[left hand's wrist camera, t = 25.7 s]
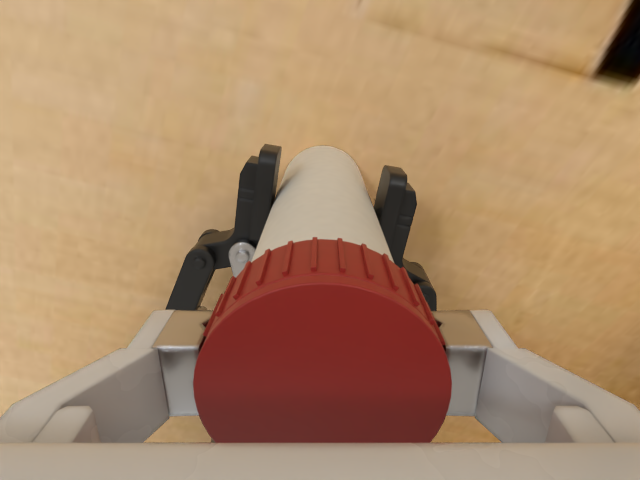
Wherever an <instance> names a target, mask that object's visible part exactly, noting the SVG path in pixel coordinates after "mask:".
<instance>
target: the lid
mask: <svg viewBox="0 0 640 480" xmlns="http://www.w3.org/2000/svg"><path fill="white" fill-rule="evenodd" d="M203 336H206V339H205V341H204V344H203V346H202V348H201V350H200V353H199V355H198V358H197V362H196V365H195V369H194V378H193V390H194V399H195V403H196V408H197V411H198V414H199V416H200V419H201V421H202V423H203V425H204V427H205V429H206V430H207V432H208V434H209V435H210V436H211V438H212V439H213V440H214V441H215V443H430V442H431V441H432V439H433V438H434V437H435V436H436V434H437V433H438V431H439V429H440V427H441V426H442V424H443V422H444V419H445V417H446V414H447V412H448V409H449V404H450V399H451V391H452V378H451V370H450V366H449V362H448V359H447V355H446V353H445V351H444V348H443V346H442V345H445V344H446V343H445V341H444V338H443V336H442V334H441V332H440V330H439V327H438V325H437V323H436V321H435V319H434V316H433V314H432V312H431V310H430V308H429V305H428V303H427V302H426V300H425V298H424V296H423V294H422V291H421V289H420V287H419V285H418V284H415V285H414V284H413V282H412V281H411V279H410V278H409V276H408V274H407V271H406V269H405V268H404V267H402V268H399V267H398V266H397V265H396V264H394V263H393V262H392V261H391V260H389V257H388V255H387V254H385V253H384V254H383V255H381V254H380V253H378V252H376V251H373V250H371V249H369V248H367V246H366V244H363V243H362V244H361V245H358V244H354V243H351V242H346V241H343V240H342V238H338V239H337V240H329V239H317V237H313V238H312V240H304V241H299V242H294V243H293V241H288V244H287V245H284V246H281V247H278V248H275V249H273V250H270V249H267V250H265V253H264V254H263V255H262V256H260V257H259V258H257V259H256V260H254V261H252V262H250V261H248V262H247V263H246V264H245V267H244V269H243V270H242V271H241V272H240V273H239V275H238V276H237V277H236V278H235V277H234V276H233V277H232V278H231V279H230V282H229V284H228V286H227V288H226V291H225V293H224V294H221V296H220V298H219V300H218V302H217V304H216V307H215V309H214V311H213V313H212V315H211V318H210V320H209V322H208V324H207V326H206V328H205V331H204V333H203Z"/></svg>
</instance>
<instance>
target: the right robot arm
mask: <svg viewBox="0 0 640 480" xmlns="http://www.w3.org/2000/svg"><path fill="white" fill-rule="evenodd" d="M280 157H281V147H280V146H274V145H268V144H265V145H264V146H263V147H262V148H261V150H260V154H259V157H256V156H251V157H250V159H249V160H248V161H247V162H246V164H245V166H244V168H243V169H242V171H241V173H240V179H239V189H238V199H237V209H236V219H235V228H233V229H231V230H228V231H222V232H220V231H218V230H214V229H210V230H207V231H205V232H204V233H203V234H202V235H201V237H200V238H199V240H198V242H197V244H196V245H195V247H193V248H192V249H191V250H190V251H189V253H188V254H187V256H186V258H185V260H184V263H183V266H182V268H181V271H180V273H179V276H178V278H177V281H176V284H175V286H174V289H173V291H172V294H171V296H170V299H169V302H168V304H167V307H166V309H165V310H207V309H206V308H205V307H204V306H200V304H201V302H202V300H203V297H204V295H205V293H206V290H207V288H208V286H209V283H210V281H211V278H212V276H213V274H214V271H215V269H220V268H226V267H231V268H232V272H233V276H234V277H235V278H236V277H237V276H238V275H239V273H240V272H241V271H242V270H243V269H244V267H245V264H246V263H247V262H248V261H250V262H251V261H252V259H253V256H254V253H255V251H256V248H257V245H258V243H259V240H260V237H261V235H262V232H263V229H264V227H265V224H266V221H267V219H268V216H269V213H270V211H271V208H272V205H273V203H274V200H275V194H276V186H277V179H278V172H279V164H280ZM416 205H417V202H416V194H415V191H414V190H413V188H412V187H411V186H410V184H409V183H407V175H406V174H405V172H404V171H403V170H402V169H401V168H398V167H392V166H387V165H385V166H384V167H383V170H382V174H381V178H380V182H379V187H378V191H377V195H376V200H375V204H374V210H375V213H376V216H377V218H378V221H379V224H380V227H381V229H382V232H383V235H384V237H385V240H386V243H387V245H388V248H389V251H390V253H391V256H392V259H393V261H394V264H396V265H397V266H398V267H399V268H402V267H404V268H405V269H406V271H407V274H408V276H409V278H410V279H411V281H412V282H413V284H414V285H415V284H418V285H419V287H420V289H421V291H422V294H423V296H424V298H425V300H426V302H427V303H428V305H429V308H430V310H431V311H436V293H435V291H434V289H433V287H432V285H431V283H430V281H429V279H428V277H427V275H426V273H425V271H424V269H423V267H422V266H421V265H420V264H418V263H415V262H409V261H407V260H405V259H403V253H404V250H405V246H406V242H407V239H408V235H409V231H410V226H411V224H412V220H413V216H414V213H415V209H416ZM211 443H215V441H214V440H213V439H212V438H211Z"/></svg>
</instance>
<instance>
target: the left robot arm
mask: <svg viewBox="0 0 640 480" xmlns="http://www.w3.org/2000/svg"><path fill="white" fill-rule="evenodd" d="M431 312H432V314H433V316H434V319H435V321H436V323H437V325H438V327H439V330H440V332H441V334H442V336H443V338H444V341H445V343H446V344H445V345H442V346H443V348H444V351H445V353H446V355H447V359H448V362H449V366H450V370H451V378H452V391H451V399H450V404H449V409H448V412H447V414H446V415H450V416H475V418H476V419H477V420H478V421H479V422H480V423H481V424H482V425H483V426H484V427H486V428H487V429H488V430H489V431H490V432H491V433H492V434H493V435H494V436H495V437H497V438H498V439H499V440H500V441H501V442H502V443H143V442H144V441H145V440H146V439H147V438H148V437H149V436H150V435H152V434H153V433H154V432H155V431H156V430H157V429H158V428H159V427H160V426H161V425H162V424H164V423H165V422H166V421H167V420H168V419H169V416H194V415H199V414H198V411H197V408H196V403H195V399H194V390H193V378H194V369H195V365H196V362H197V358H198V355H199V353H200V350H201V348H202V346H203V344H204V341H205V339H206V336H203V333H204V331H205V328H206V326H207V324H208V322H209V320H210V318H211V315H212V313H213V311H208V310H155V311H153V312H152V313H151V314H150V316H149V317H148V319H147V320H146V321H145V323H144V324H143V326H142V327H141V329H140V330H139V331H138V333H137V334H136V336H135V337H134V338H133V340H132V341H131V343H130V344H129V345H128V347H127V348H120V349H118V350H116V351H114V352H112V353H110V354H108V355H106V356H104V357H102V358H100V359H99V360H97V361H95V362H93V363H91V364H89V365H87V366H85V367H83V368H81V369H79V370H77V371H75V372H74V373H72V374H70V375H68V376H66V377H64V378H62V379H60V380H58V381H56V382H54V383H52V384H50V385H49V386H47V387H45V388H43V389H41V390H39V391H37V392H35V393H33V394H31V395H29V396H27V397H26V398H24V399H22V400H20V401H18V402H16V403H14V404H13V405H12V406H11V407H10V408H9V409H8V410H7V411H6V412H5V413H4V414H3V415H2V416H1V417H0V480H640V411H639V410H638V409H637V407H636V406H635V405H634V404H632V403H630V402H628V401H626V400H624V399H622V398H620V397H618V396H616V395H614V394H612V393H610V392H608V391H606V390H604V389H603V388H601V387H599V386H597V385H595V384H593V383H591V382H589V381H587V380H585V379H583V378H581V377H579V376H577V375H575V374H574V373H572V372H570V371H568V370H566V369H564V368H562V367H560V366H558V365H556V364H554V363H552V362H550V361H548V360H546V359H545V358H543V357H541V356H539V355H537V354H535V353H533V352H531V351H529V350H527V349H525V348H518V347H517V346H516V345H515V343H514V342H513V340H512V339H511V338H510V336H509V335H508V334H507V332H506V331H505V329H504V328H503V327H502V325H501V324H500V323H499V321H498V320H497V319H496V317H495V316H494V314H493V313H492V312H491V311H490V310H487V309H486V310H455V311H431Z"/></svg>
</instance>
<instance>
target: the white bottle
mask: <svg viewBox="0 0 640 480" xmlns="http://www.w3.org/2000/svg"><path fill="white" fill-rule="evenodd" d="M313 237H317V239H329V240H337V239H338V238H342V240H343V241H346V242H351V243H354V244H358V245H361V244H362V243H363V244H366V246H367V248H369V249H371V250H373V251H376V252H378V253H380V254H381V255H383V254H384V253H385V254H387V255H388V257H389V260H391V261H392V262H393V263H394V261H393V259H392V256H391V253H390V251H389V248H388V245H387V243H386V240H385V237H384V235H383V232H382V229H381V227H380V224H379V221H378V218H377V216H376V213H375V210H374V208H373V205H372V202H371V200H370V197H369V194H368V192H367V189H366V186H365V184H364V181H363V178H362V176H361V173H360V170H359V168H358V166H357V164H356V163H355V161H354V160H353V159H352V158H351V157H350V156H349V155H348V154H347V153H345V152H344V151H342V150H340V149H338V148H335V147H331V146H314V147H310V148H308V149H305V150H303V151H302V152H300V153H299V154H297V155H296V156H295V157H294V158H293V159H292V160H291V162H290V163H289V165H288V166H287V169H286V171H285V173H284V176H283V179H282V181H281V184H280V187H279V189H278V192H277V195H276V197H275V200H274V203H273V205H272V208H271V211H270V213H269V216H268V219H267V221H266V224H265V227H264V229H263V232H262V235H261V237H260V240H259V243H258V245H257V248H256V251H255V253H254V256H253V259H252V261H254V260H256V259H257V258H259V257H260V256H262V255H263V254H264V253H265V250H267V249H270V250H273V249H275V248H278V247H281V246H284V245H287V244H288V241H293V243H294V242H299V241H304V240H312V238H313ZM252 261H251V262H252Z"/></svg>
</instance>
